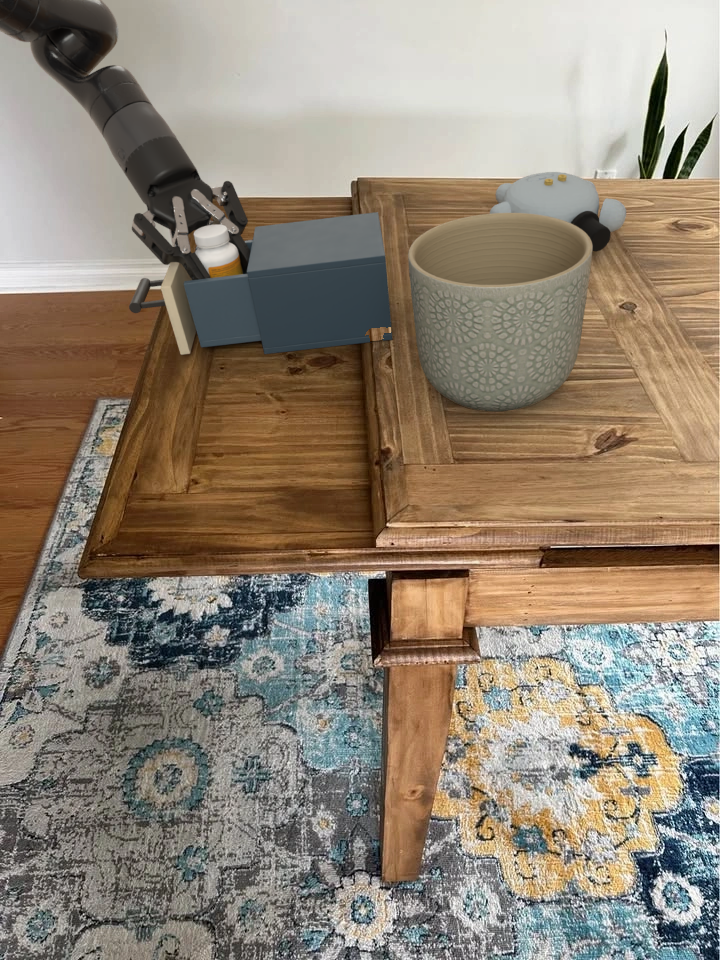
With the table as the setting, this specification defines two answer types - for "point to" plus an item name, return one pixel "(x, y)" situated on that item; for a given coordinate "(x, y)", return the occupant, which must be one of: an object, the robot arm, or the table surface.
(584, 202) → the figurine
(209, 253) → the supplement bottle
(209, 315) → the drawer
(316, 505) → the table surface
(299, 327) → the cabinet
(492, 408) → the planter
